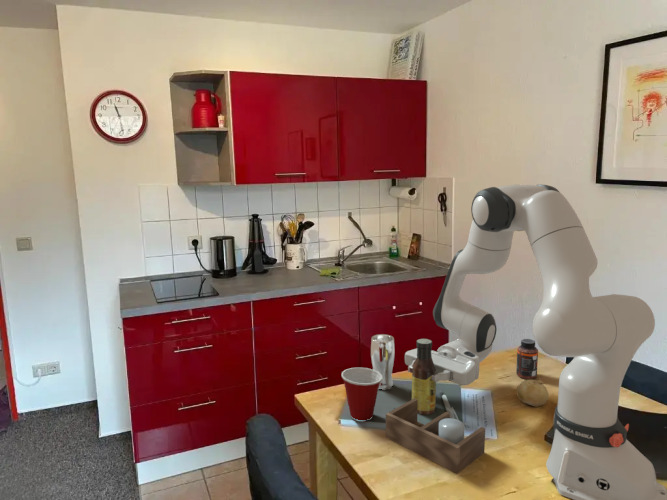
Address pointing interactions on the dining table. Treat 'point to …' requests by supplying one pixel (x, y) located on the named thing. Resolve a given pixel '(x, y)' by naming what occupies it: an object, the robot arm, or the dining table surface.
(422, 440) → the walnut rail
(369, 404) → the plastic cup
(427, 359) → the sauce bottle
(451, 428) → the grey rounded cylinder
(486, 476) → the dining table surface
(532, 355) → the supplement bottle
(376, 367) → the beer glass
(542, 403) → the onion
